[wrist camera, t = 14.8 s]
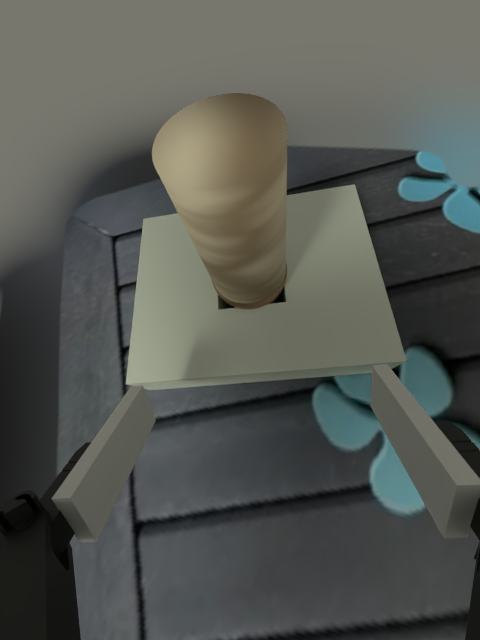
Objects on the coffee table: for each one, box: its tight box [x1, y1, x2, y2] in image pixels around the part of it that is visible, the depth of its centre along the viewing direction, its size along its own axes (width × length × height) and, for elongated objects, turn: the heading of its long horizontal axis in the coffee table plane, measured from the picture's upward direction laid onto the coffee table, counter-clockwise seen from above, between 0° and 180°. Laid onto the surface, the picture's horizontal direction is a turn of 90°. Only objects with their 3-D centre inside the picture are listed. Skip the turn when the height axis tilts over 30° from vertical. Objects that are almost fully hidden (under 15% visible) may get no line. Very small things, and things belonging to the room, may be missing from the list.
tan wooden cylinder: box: [152, 93, 287, 310], centre depth 18 cm, size 6×6×15 cm
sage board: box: [126, 184, 407, 390], centre depth 23 cm, size 20×16×4 cm
